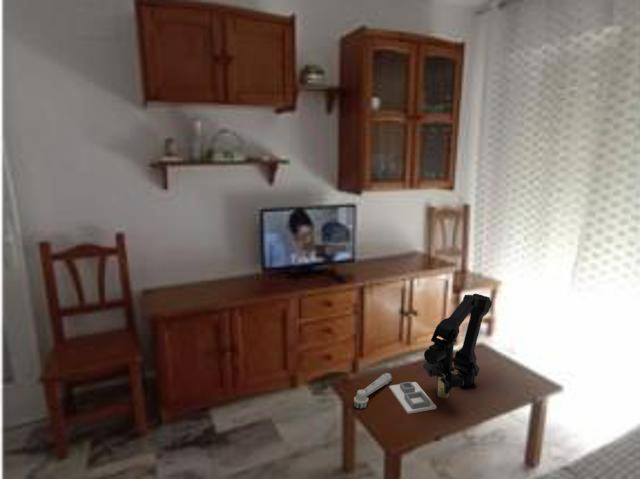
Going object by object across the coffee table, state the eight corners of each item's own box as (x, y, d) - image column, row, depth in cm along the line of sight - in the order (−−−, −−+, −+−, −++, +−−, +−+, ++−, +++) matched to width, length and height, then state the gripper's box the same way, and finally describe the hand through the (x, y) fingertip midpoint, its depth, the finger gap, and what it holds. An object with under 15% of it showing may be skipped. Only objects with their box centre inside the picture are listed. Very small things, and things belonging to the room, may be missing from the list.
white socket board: (415, 383, 188) (415, 377, 187) (436, 408, 171) (436, 401, 170) (389, 388, 185) (389, 381, 184) (407, 413, 168) (407, 406, 167)
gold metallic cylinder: (445, 391, 178) (446, 373, 176) (450, 397, 174) (451, 379, 172) (435, 393, 177) (436, 375, 175) (440, 398, 173) (441, 380, 171)
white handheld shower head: (394, 374, 189) (363, 394, 169) (392, 388, 190) (362, 410, 170) (383, 370, 192) (352, 389, 172) (382, 384, 193) (350, 405, 173)
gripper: (415, 346, 178) (414, 381, 182) (438, 369, 160) (436, 407, 164) (440, 342, 180) (438, 377, 184) (465, 365, 163) (463, 402, 166)
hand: (443, 390), depth 175 cm, fingers closed on gold metallic cylinder, 4 cm apart
